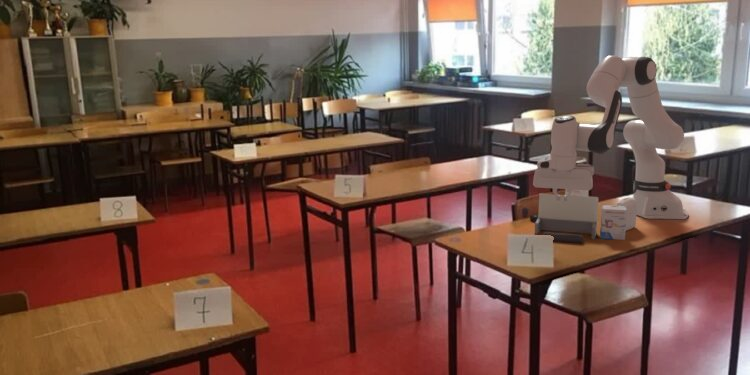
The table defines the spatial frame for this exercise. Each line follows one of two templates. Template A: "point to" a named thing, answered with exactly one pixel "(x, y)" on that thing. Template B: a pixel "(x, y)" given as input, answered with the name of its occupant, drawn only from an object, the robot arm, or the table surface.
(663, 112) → the robot arm
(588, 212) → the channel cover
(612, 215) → the ink box
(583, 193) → the ink cartridge box
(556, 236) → the dark grey bar
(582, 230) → the cable channel
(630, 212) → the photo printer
